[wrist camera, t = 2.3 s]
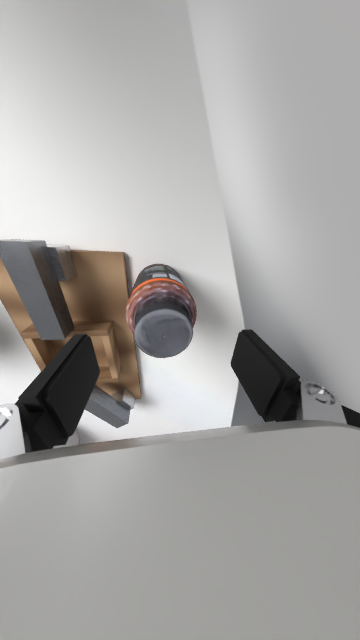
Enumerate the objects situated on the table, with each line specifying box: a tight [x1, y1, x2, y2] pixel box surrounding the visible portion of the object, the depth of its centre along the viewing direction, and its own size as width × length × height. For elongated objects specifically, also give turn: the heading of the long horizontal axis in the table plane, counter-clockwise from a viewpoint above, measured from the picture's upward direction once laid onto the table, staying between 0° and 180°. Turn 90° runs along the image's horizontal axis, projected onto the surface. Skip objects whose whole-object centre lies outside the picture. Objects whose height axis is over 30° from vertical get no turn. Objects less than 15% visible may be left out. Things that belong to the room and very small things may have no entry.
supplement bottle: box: [126, 264, 196, 358], centre depth 15 cm, size 6×6×11 cm
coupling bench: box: [0, 250, 141, 399], centre depth 21 cm, size 26×14×3 cm, turn 177°
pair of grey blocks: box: [0, 239, 135, 428], centre depth 20 cm, size 28×8×5 cm, turn 177°
